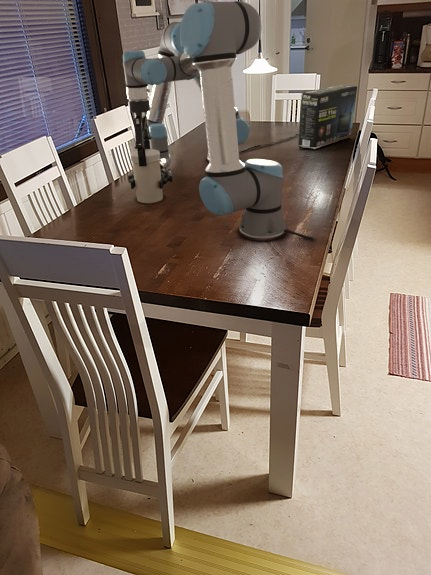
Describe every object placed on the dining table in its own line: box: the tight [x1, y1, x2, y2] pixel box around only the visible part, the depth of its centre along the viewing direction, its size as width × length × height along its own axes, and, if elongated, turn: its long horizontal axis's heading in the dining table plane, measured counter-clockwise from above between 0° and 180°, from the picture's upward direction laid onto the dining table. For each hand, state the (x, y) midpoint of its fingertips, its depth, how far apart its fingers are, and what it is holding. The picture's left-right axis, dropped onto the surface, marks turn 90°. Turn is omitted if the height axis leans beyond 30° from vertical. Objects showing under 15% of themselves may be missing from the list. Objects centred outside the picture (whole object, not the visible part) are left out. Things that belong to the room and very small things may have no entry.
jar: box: [131, 160, 164, 204], centre depth 176 cm, size 10×10×17 cm
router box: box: [297, 84, 358, 151], centre depth 238 cm, size 36×11×27 cm, turn 134°
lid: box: [129, 149, 160, 163], centre depth 172 cm, size 11×11×2 cm
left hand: (146, 185), depth 174 cm, fingers closed on jar, 10 cm apart
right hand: (145, 161), depth 173 cm, fingers closed on lid, 11 cm apart
